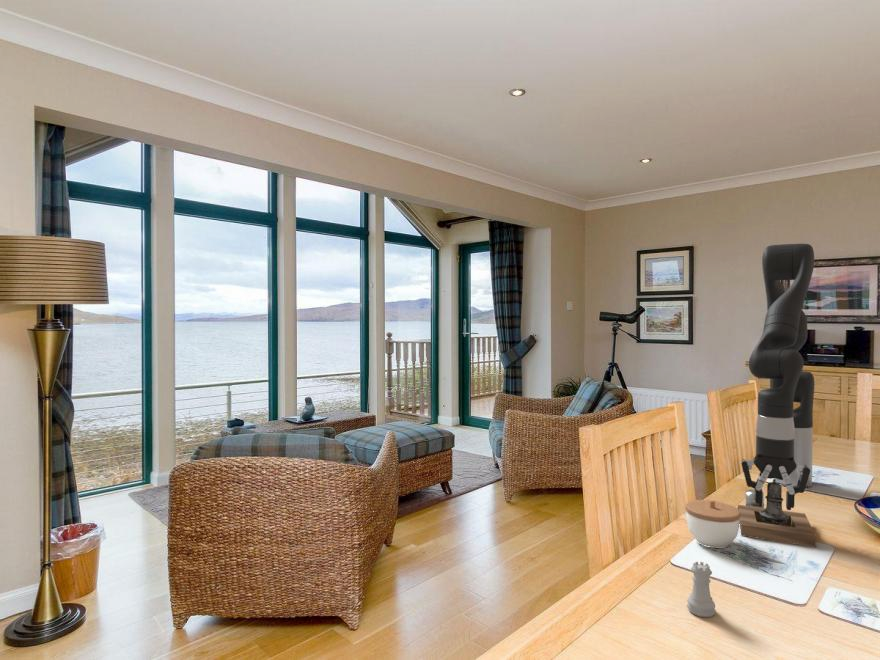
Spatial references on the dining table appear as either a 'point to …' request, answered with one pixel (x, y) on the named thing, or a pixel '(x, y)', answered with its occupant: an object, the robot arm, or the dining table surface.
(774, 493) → the dark chess piece
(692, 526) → the lidded jar
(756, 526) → the hole board
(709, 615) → the rook chess piece
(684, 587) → the dining table surface
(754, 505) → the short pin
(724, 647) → the dining table surface
